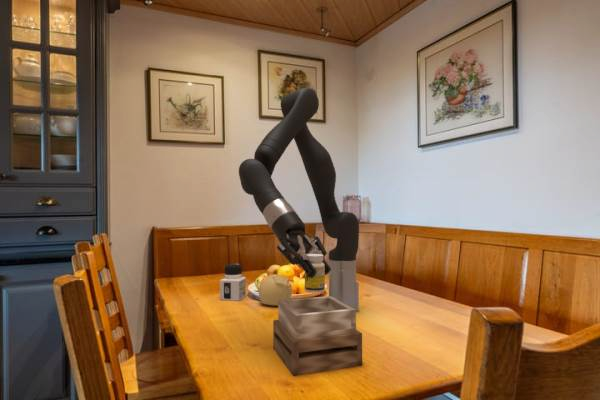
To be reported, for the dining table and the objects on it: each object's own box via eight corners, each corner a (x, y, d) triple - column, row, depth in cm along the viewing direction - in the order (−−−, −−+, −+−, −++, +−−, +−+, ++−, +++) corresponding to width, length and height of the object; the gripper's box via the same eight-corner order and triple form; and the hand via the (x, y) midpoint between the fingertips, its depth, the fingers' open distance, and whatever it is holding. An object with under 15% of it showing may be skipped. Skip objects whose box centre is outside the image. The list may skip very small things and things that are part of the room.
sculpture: (291, 308, 132) (291, 277, 132) (256, 308, 132) (256, 277, 133) (292, 300, 144) (292, 271, 144) (260, 300, 144) (260, 271, 144)
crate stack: (332, 341, 100) (332, 295, 100) (362, 365, 84) (362, 310, 85) (273, 348, 94) (273, 300, 95) (293, 375, 79) (293, 317, 80)
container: (239, 301, 143) (239, 266, 143) (219, 300, 144) (219, 265, 144) (246, 296, 150) (246, 263, 150) (227, 295, 152) (227, 262, 152)
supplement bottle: (303, 288, 92) (303, 253, 92) (323, 288, 92) (323, 253, 93) (305, 293, 87) (305, 256, 87) (326, 292, 88) (326, 256, 88)
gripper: (270, 210, 90) (310, 267, 82) (309, 210, 100) (348, 260, 92) (255, 232, 93) (291, 289, 85) (294, 229, 104) (330, 279, 96)
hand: (320, 273), depth 89 cm, fingers closed on supplement bottle, 4 cm apart
